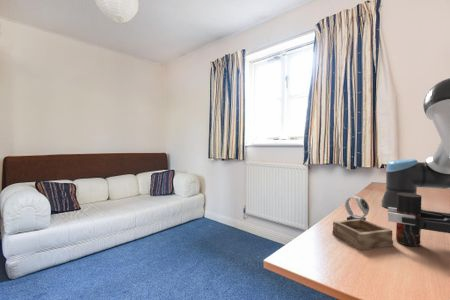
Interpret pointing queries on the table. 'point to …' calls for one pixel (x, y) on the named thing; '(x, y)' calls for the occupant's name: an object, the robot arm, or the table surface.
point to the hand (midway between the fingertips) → (388, 213)
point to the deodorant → (408, 206)
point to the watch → (362, 205)
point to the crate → (362, 234)
